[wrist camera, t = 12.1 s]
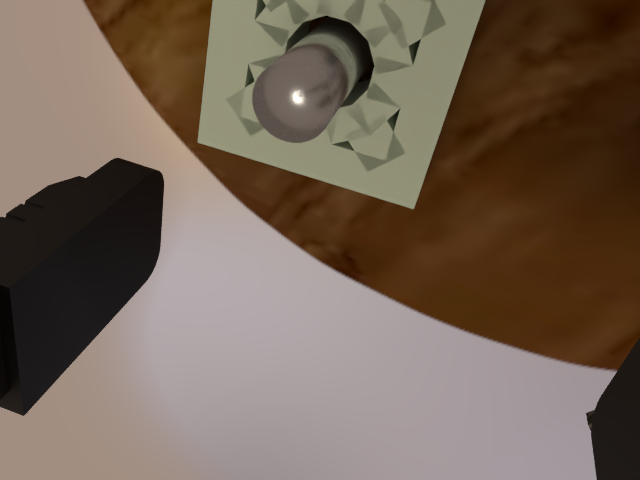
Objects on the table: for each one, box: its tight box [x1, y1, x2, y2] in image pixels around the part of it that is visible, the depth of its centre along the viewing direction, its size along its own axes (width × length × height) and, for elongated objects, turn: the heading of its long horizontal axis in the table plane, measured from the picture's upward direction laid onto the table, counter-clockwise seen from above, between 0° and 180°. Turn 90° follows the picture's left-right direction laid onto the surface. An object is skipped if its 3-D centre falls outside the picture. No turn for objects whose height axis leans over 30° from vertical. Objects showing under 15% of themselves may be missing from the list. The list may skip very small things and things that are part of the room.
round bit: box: [252, 16, 373, 143], centre depth 33 cm, size 4×4×12 cm
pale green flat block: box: [198, 0, 485, 209], centre depth 36 cm, size 14×14×5 cm
